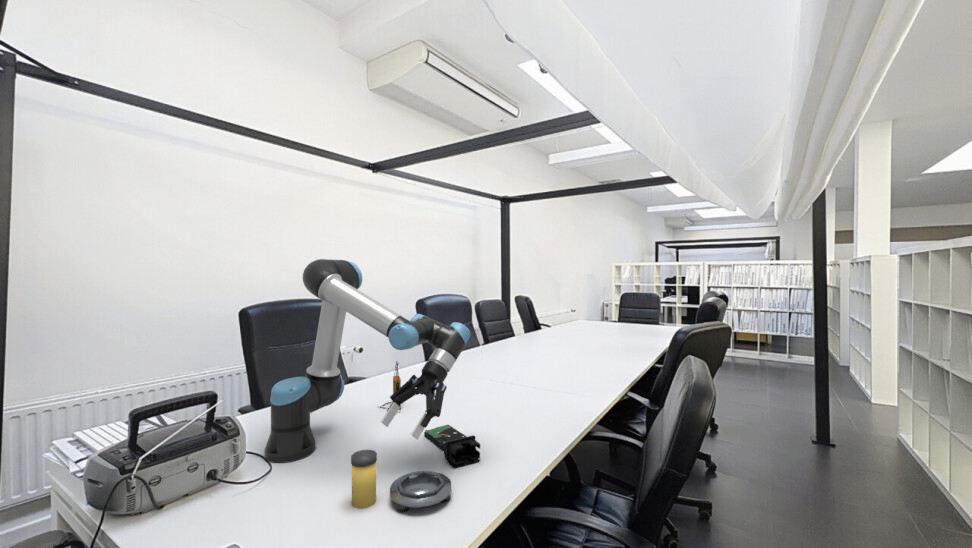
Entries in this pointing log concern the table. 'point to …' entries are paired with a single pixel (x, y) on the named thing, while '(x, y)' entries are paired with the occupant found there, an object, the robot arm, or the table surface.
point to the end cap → (461, 452)
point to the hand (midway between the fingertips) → (398, 430)
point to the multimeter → (395, 385)
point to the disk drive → (442, 435)
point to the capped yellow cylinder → (363, 478)
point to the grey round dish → (420, 490)
